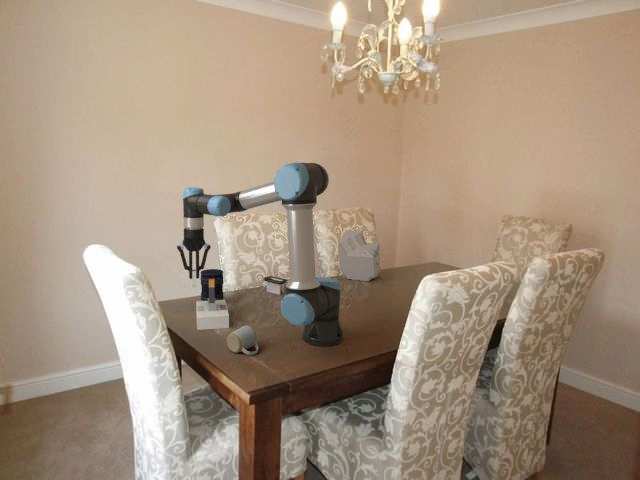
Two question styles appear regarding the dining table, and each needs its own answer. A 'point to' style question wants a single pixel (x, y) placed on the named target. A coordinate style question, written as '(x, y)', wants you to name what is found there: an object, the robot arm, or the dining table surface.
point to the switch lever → (211, 290)
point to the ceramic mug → (242, 340)
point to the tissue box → (358, 257)
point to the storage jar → (218, 284)
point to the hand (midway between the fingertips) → (194, 286)
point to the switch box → (212, 315)
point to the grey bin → (275, 284)
